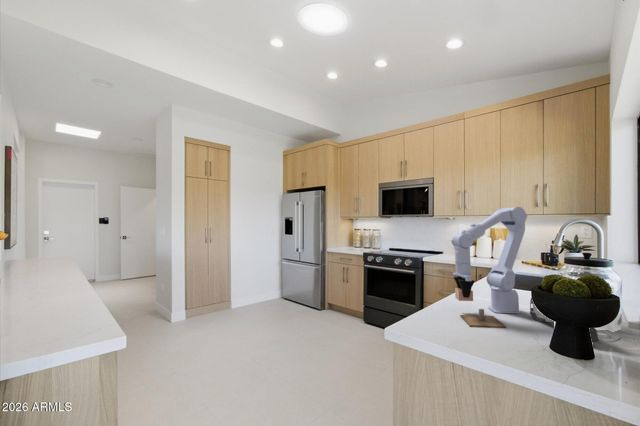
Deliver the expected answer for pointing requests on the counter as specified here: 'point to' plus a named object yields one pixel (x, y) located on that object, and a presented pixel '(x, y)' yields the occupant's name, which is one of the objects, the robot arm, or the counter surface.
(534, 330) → the counter surface
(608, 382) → the counter surface
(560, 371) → the counter surface
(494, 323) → the peg stand
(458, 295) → the ring
